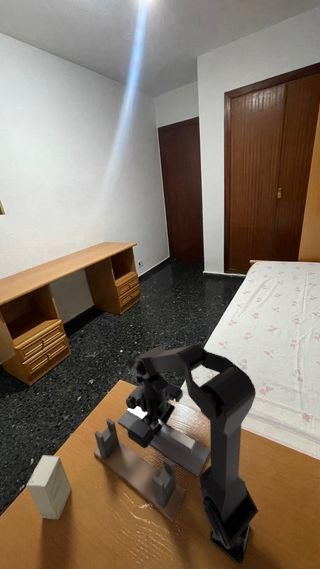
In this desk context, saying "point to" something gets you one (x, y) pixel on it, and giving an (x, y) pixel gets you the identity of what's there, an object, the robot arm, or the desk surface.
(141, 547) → the desk surface
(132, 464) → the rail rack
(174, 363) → the robot arm
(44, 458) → the skincare box
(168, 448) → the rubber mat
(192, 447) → the steel rail
